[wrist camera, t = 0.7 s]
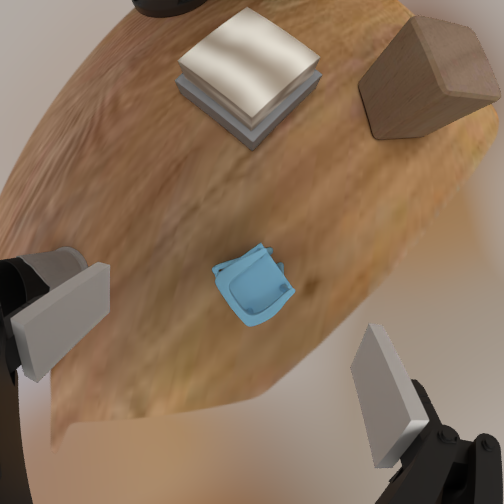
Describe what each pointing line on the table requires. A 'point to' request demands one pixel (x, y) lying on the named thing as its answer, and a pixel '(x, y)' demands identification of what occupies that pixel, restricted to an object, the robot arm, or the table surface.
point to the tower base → (237, 127)
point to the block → (427, 79)
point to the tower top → (248, 66)
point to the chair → (253, 285)
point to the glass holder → (36, 275)
